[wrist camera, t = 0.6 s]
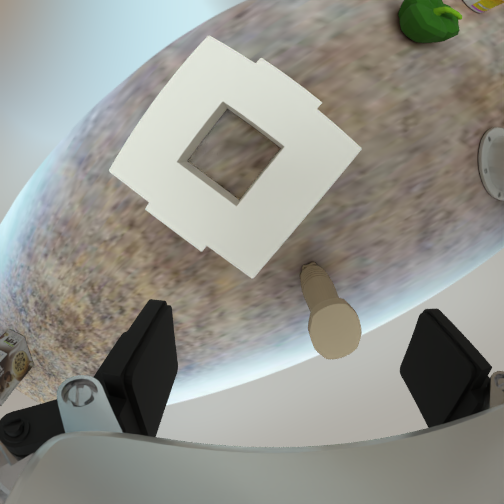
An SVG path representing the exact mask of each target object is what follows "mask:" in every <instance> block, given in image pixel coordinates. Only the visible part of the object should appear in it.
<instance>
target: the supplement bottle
mask: <svg viewBox="0 0 504 504" xmlns="http://www.w3.org/2000/svg"><path fill="white" fill-rule="evenodd" d="M463 1H464V2H465V3H466V5H467V6H468V7H470V8H471V9H472V10H474V11H475V12H478V13H483V12H485V11H487V10H489V9H491V8H493V7H495V6H497V5H500V4H502V3H504V0H463Z"/></svg>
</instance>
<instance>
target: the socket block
mask: <svg viewBox="0 0 504 504" xmlns="http://www.w3.org/2000/svg"><path fill="white" fill-rule="evenodd" d="M321 104H322V102H321V101H320V100H318V99H317V98H316V97H315V96H313V95H312V94H311V93H310V92H308V91H307V90H306V89H304V88H303V87H302V86H300V85H299V84H298V83H296V82H295V81H294V80H292V79H291V78H290V77H288V76H287V75H286V74H284V73H283V72H281V71H280V70H278V69H277V68H276V67H274V66H273V65H271V64H270V63H268V62H267V61H265V60H264V59H262V58H260V59H259V61H258V62H257V63H256V64H255V63H254V62H252V61H251V60H249V59H247V58H246V57H244V56H243V55H241V54H240V53H238V52H236V51H235V50H233V49H231V48H230V47H228V46H226V45H225V44H223V43H221V42H219V41H218V40H216V39H214V38H212V37H211V36H209V35H208V37H207V38H206V39H205V40H204V41H203V42H202V43H201V44H200V45H199V46H198V47H197V48H196V50H195V51H194V52H193V53H192V54H191V55H190V56H189V57H188V59H187V60H186V61H185V62H184V63H183V65H182V66H181V67H180V68H179V69H178V71H177V72H176V73H175V74H174V75H173V77H172V78H171V79H170V80H169V82H168V83H167V84H166V86H165V87H164V88H163V89H162V91H161V92H160V93H159V95H158V96H157V97H156V99H155V100H154V101H153V103H152V104H151V106H150V107H149V108H148V110H147V111H146V113H145V114H144V115H143V117H142V118H141V120H140V121H139V123H138V124H137V126H136V127H135V129H134V130H133V132H132V133H131V135H130V136H129V138H128V140H127V141H126V143H125V144H124V146H123V148H122V149H121V151H120V152H119V154H118V156H117V157H116V159H115V161H114V163H113V164H112V166H111V168H110V169H109V172H111V173H112V174H113V175H114V176H116V177H117V178H118V179H120V180H121V181H122V182H123V183H125V184H126V185H127V186H129V187H130V188H131V189H132V190H134V191H135V192H136V193H138V194H139V195H140V196H142V197H143V198H144V199H146V200H147V201H148V202H149V204H148V205H147V207H146V209H145V210H147V211H148V212H149V213H151V214H152V215H153V216H155V217H156V218H157V219H159V220H160V221H161V222H163V223H164V224H165V225H166V226H168V227H169V228H170V229H172V230H173V231H174V232H176V233H177V234H178V235H180V236H181V237H182V238H184V239H185V240H186V241H188V242H189V243H191V244H192V245H193V246H195V247H196V248H197V249H199V250H200V251H201V252H202V251H203V250H204V248H205V247H206V246H208V247H209V248H211V249H212V250H213V251H215V252H216V253H218V254H219V255H220V256H222V257H223V258H224V259H226V260H227V261H228V262H230V263H231V264H233V265H234V266H235V267H237V268H238V269H239V270H241V271H242V272H244V273H245V274H246V275H248V276H249V277H250V278H252V279H253V278H254V277H255V276H256V275H257V273H258V272H259V271H260V270H261V269H262V268H263V266H264V265H265V264H266V263H267V262H268V261H269V259H270V258H271V257H272V256H273V255H274V254H275V252H276V251H277V250H278V249H279V248H280V247H281V245H282V244H283V243H284V242H285V241H286V239H287V238H288V237H289V236H290V235H291V234H292V232H293V231H294V230H295V229H296V228H297V226H298V225H299V224H300V223H301V222H302V221H303V219H304V218H305V217H306V216H307V215H308V213H309V212H310V211H311V210H312V209H313V207H314V206H315V205H316V204H317V203H318V202H319V200H320V199H321V198H322V197H323V196H324V194H325V193H326V192H327V191H328V190H329V188H330V187H331V186H332V185H333V183H334V182H335V181H336V180H337V179H338V177H339V176H340V175H341V174H342V173H343V171H344V170H345V169H346V168H347V167H348V165H349V164H350V163H351V162H352V160H353V159H354V158H355V157H356V156H357V154H358V153H359V152H360V151H361V149H362V148H361V147H360V146H359V145H358V144H356V143H355V142H354V141H353V140H352V139H351V138H350V137H349V136H348V135H347V134H346V133H344V132H343V131H342V130H341V129H340V128H339V127H338V126H337V125H335V124H334V123H333V122H332V121H331V120H330V119H328V118H327V117H326V116H325V115H324V114H323V113H321V112H320V111H319V110H318V109H317V108H318V107H319V106H320V105H321ZM227 109H229V110H230V111H232V112H233V113H235V114H236V115H237V116H239V117H240V118H242V119H243V120H244V121H246V122H247V123H248V124H250V125H251V126H253V127H254V128H255V129H257V130H258V131H259V132H261V133H262V134H263V135H265V136H266V137H267V138H268V139H270V140H271V141H272V142H274V143H275V144H276V145H278V146H279V147H280V148H281V149H280V150H279V152H278V153H277V154H276V155H275V157H274V158H273V159H272V160H271V161H270V163H269V164H268V165H267V166H266V168H265V169H264V170H263V171H262V172H261V174H260V175H259V176H258V177H257V179H256V180H255V181H254V182H253V184H252V185H251V186H250V187H249V189H248V190H247V191H246V193H245V194H244V195H243V196H242V198H241V199H240V200H239V199H237V198H236V197H235V196H233V195H232V194H231V193H229V192H228V191H227V190H225V189H224V188H223V187H221V186H220V185H219V184H217V183H216V182H215V181H213V180H212V179H211V178H209V177H208V176H207V175H205V174H204V173H203V172H201V171H200V170H199V169H197V168H196V167H195V166H193V165H192V164H190V163H189V162H188V159H189V158H190V156H191V155H192V154H193V152H194V151H195V150H196V148H197V147H198V146H199V144H200V143H201V142H202V140H203V139H204V138H205V136H206V135H207V134H208V133H209V131H210V130H211V129H212V127H213V126H214V125H215V124H216V122H217V121H218V120H219V119H220V117H221V116H222V115H223V114H224V112H225V111H226V110H227Z"/></svg>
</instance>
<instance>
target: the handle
mask: <svg viewBox="0 0 504 504" xmlns="http://www.w3.org/2000/svg"><path fill="white" fill-rule="evenodd" d="M300 280H301V287H302V292H303V295H304V298H305V300H306V303H307V305H308V307H309V309H310V312H311V313H310V317H309V323H308V331H309V334H310V338H311V341H312V343H313V346H314V348H315V350H316V351H317V352H318V353H319V354H321V355H322V356H323V357H324V358H326V359H338V358H342V357H344V356H346V355H349V354H350V353H352V352H353V351H354V350H355V349H356V348H357V347H358V344H359V341H360V337H361V325H360V321H359V318H358V315H357V313H356V312H355V310H354V309H353V308H352V307H351V306H350V305H349V304H348V303H347V302H346V301H345V300H344V299H341V298H339V297H338V294H337V292H336V289H335V287H334V284H333V282H332V281H331V279H330V277H329V276H328V274H327V273H326V272H325V271H324V270H323V269H322V268H321V267H319V266H317V264H316V263H315V262H311V263H310V264H308V265H303V267H302V273H301V274H300Z"/></svg>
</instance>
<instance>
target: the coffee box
mask: <svg viewBox="0 0 504 504" xmlns="http://www.w3.org/2000/svg"><path fill="white" fill-rule="evenodd" d="M33 366H34V364H33V361H32V358H31V355H30V352H29V349H28V346H27V343H26V340H25V337H24V336H22V335H20V334H18V333H16V332H14V331H12V330H10V329H9V330H7V331H6V332H5V333H4V334H3V335H2V336H1V337H0V406H2V404H3V403H4V402H5V401H6V399H7V398H8V396H9V395H10V394H11V393H12V391H13V390H14V389H15V388H16V386H17V385H18V384H19V383H20V381H21V380H22V379H23V378H24V376H25V375H26V374H27V373H28V371H29V370H30V369H31V368H32V367H33Z"/></svg>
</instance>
